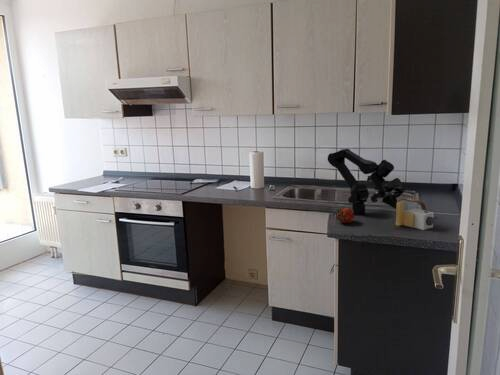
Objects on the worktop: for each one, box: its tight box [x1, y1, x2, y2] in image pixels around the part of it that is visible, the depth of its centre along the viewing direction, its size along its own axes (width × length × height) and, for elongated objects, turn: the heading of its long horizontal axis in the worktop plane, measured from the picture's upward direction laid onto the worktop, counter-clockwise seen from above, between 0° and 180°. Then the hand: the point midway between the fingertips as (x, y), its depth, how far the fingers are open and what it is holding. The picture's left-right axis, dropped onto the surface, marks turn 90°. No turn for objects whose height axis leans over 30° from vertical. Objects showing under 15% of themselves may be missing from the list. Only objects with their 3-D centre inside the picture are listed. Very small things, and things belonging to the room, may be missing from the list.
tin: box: [397, 197, 427, 212], centre depth 200 cm, size 15×3×8 cm, turn 35°
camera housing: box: [405, 209, 435, 231], centre depth 180 cm, size 11×7×8 cm, turn 30°
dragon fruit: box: [335, 206, 356, 224], centre depth 191 cm, size 8×8×12 cm
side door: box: [395, 201, 414, 228], centre depth 181 cm, size 7×4×11 cm, turn 30°
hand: (397, 208), depth 184 cm, fingers closed
